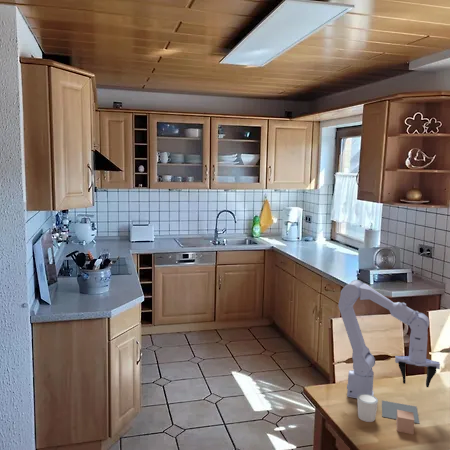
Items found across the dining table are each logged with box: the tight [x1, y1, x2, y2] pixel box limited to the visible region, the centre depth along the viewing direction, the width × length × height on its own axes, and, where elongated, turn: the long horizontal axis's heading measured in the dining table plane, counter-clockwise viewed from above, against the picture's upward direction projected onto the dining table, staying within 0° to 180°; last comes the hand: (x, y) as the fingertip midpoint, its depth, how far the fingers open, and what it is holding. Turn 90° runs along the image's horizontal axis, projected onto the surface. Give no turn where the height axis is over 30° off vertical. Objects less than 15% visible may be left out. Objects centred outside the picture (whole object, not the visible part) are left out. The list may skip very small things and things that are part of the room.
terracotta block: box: [395, 410, 415, 435], centre depth 143 cm, size 5×5×5 cm
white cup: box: [356, 394, 379, 423], centre depth 150 cm, size 7×7×7 cm
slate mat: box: [381, 400, 420, 425], centre depth 154 cm, size 12×12×1 cm
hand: (415, 384), depth 155 cm, fingers open, 7 cm apart
